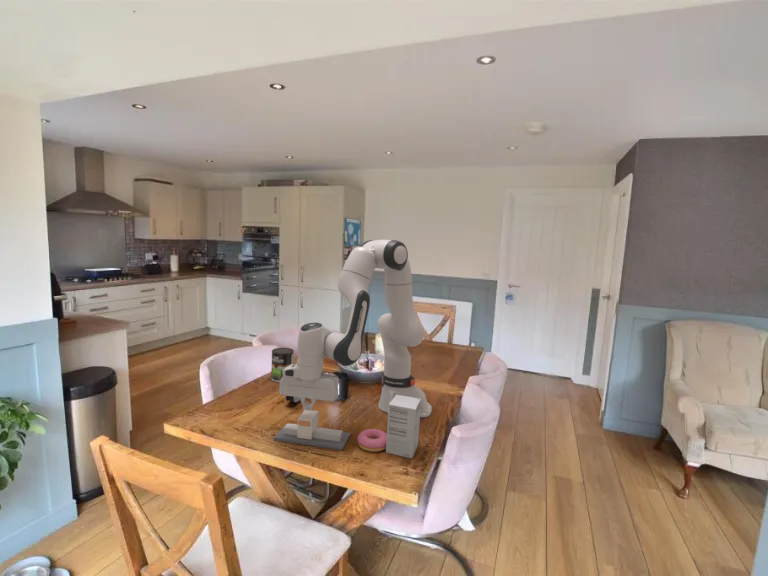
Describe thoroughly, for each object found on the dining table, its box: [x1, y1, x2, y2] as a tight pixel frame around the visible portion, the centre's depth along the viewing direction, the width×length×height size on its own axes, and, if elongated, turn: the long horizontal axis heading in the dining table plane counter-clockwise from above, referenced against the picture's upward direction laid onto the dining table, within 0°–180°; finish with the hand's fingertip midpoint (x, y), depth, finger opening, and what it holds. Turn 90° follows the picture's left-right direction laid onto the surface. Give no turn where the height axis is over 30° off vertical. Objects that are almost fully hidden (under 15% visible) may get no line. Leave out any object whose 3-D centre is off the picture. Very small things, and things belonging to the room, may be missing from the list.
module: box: [297, 410, 320, 440], centre depth 135 cm, size 5×7×7 cm
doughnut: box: [356, 428, 387, 453], centre depth 133 cm, size 11×11×4 cm
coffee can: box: [270, 347, 295, 383], centre depth 190 cm, size 10×10×14 cm
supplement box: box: [385, 395, 421, 459], centre depth 130 cm, size 10×9×17 cm
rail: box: [273, 422, 351, 451], centre depth 135 cm, size 24×10×3 cm, turn 81°
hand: (308, 409), depth 134 cm, fingers closed
